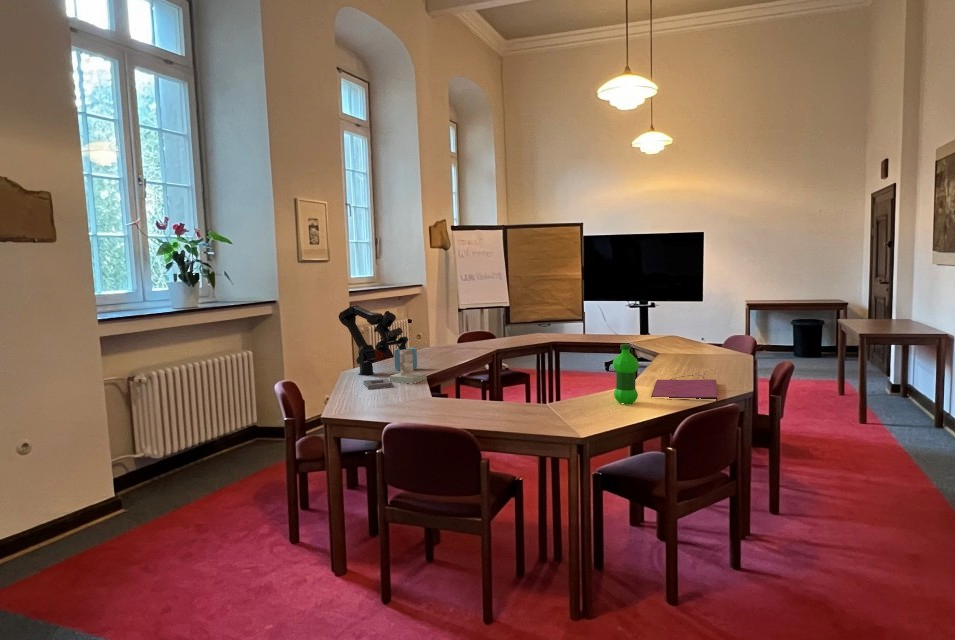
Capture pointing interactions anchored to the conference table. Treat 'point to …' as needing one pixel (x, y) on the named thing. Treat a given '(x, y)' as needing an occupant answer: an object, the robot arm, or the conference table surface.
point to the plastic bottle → (625, 375)
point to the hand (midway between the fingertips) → (400, 356)
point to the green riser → (408, 378)
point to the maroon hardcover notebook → (686, 389)
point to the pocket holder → (377, 383)
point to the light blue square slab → (397, 358)
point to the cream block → (406, 362)
